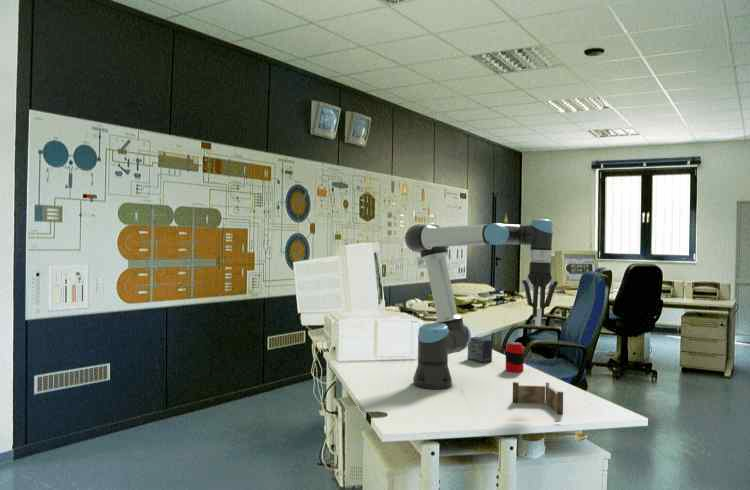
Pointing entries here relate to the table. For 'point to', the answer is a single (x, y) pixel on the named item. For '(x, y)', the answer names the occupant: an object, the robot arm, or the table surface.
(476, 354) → the small box
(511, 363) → the soda can
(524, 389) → the fence fixed
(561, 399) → the fence gate
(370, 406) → the table surface
